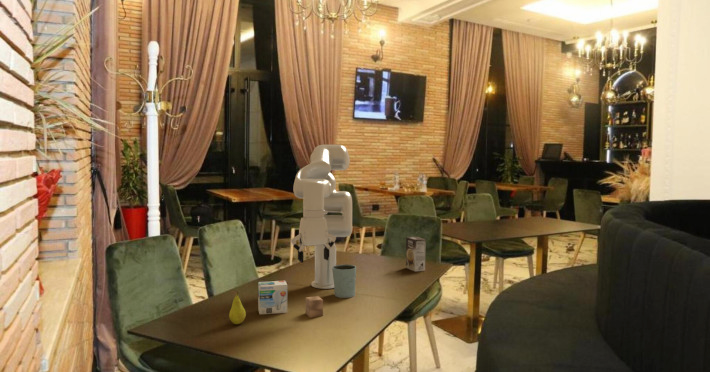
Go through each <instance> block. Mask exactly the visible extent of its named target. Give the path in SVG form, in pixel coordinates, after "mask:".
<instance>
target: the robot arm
mask: <svg viewBox="0 0 710 372" xmlns="http://www.w3.org/2000/svg"><path fill="white" fill-rule="evenodd" d="M346 147H347V146H345V145H342V144H319V145H317V146H315V147H314V149H313V151H312V153H311V154H310V160H309V161H310V163H309V164H307V165H305V166H303V167H302V168H300V169H299V170H298V171H297V173H296V175H295V179H294V183H293V189H292V190H293V194H294V196H295V198H298V199H303V202H302V203H303V205H302V208H303V213H302V215H303V217H301V218H300V222H299V231H298V234H297V235H296V236H294V237H292V238H291V239H290V243H291V244H292V247H294V249H295V250H296V251H297V260H298V262H300V263H304V251H303V250H304V249H305V248H306V247H313V246H314V280H313V281H311V287H313V288H316V289H323V290H327V289H328V290H330V289H334V279H333V270H332V267H333V266H335V265H337V246H336V243H335V242H336V240H337V238H345V237H349V236H351V234H352V232H353V197H352V194H351V193H350V192H349V191H346V190H337V189H336V187H337V186H336V185H337V182H336V181H337V180H336V178H335V176H334V175H333V173H331V171H346V170H348V168H349V167H350V164H351V163H350V162H351V161H350V155H349V151H348V148H346ZM328 213H341V214H342V215H339V214H337V215H336V214H335V215H333V214H328ZM297 241H298V243H299V245H298V244H297Z"/></svg>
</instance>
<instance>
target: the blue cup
mask: <svg viewBox="0 0 710 372" xmlns="http://www.w3.org/2000/svg"><path fill="white" fill-rule="evenodd" d="M332 270H333V279H334V288H333V290H334V291H333V292H334V293H333V294H334V297H337V298H340V299H345V298H353V297H355V296H356V282H357V280H356V279H357V266H356V265H354V264H344V263H343V264H336V265H335V266H333V267H332Z"/></svg>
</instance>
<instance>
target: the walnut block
mask: <svg viewBox="0 0 710 372" xmlns="http://www.w3.org/2000/svg"><path fill="white" fill-rule="evenodd" d="M305 314H306V315H307V316H308V317H309V318H316V317H323V316H324V299H322V298H321V297H320V296H319V295H316V296H309V297H305Z"/></svg>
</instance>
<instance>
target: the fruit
mask: <svg viewBox="0 0 710 372" xmlns="http://www.w3.org/2000/svg"><path fill="white" fill-rule="evenodd" d="M238 294H239V291H237V292H236V294H235V296H234V298H233V299H232V300H233V301H232V304H231V308H230V310H229V315H228V317H229V320H230V321H231V323H232V324H234V325H241V324H242V323H243V322H244V320H245V319H246V315H247V313H246V309H245V308H244V306H243V304H242V302H241V299H240V297H239V295H238Z"/></svg>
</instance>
